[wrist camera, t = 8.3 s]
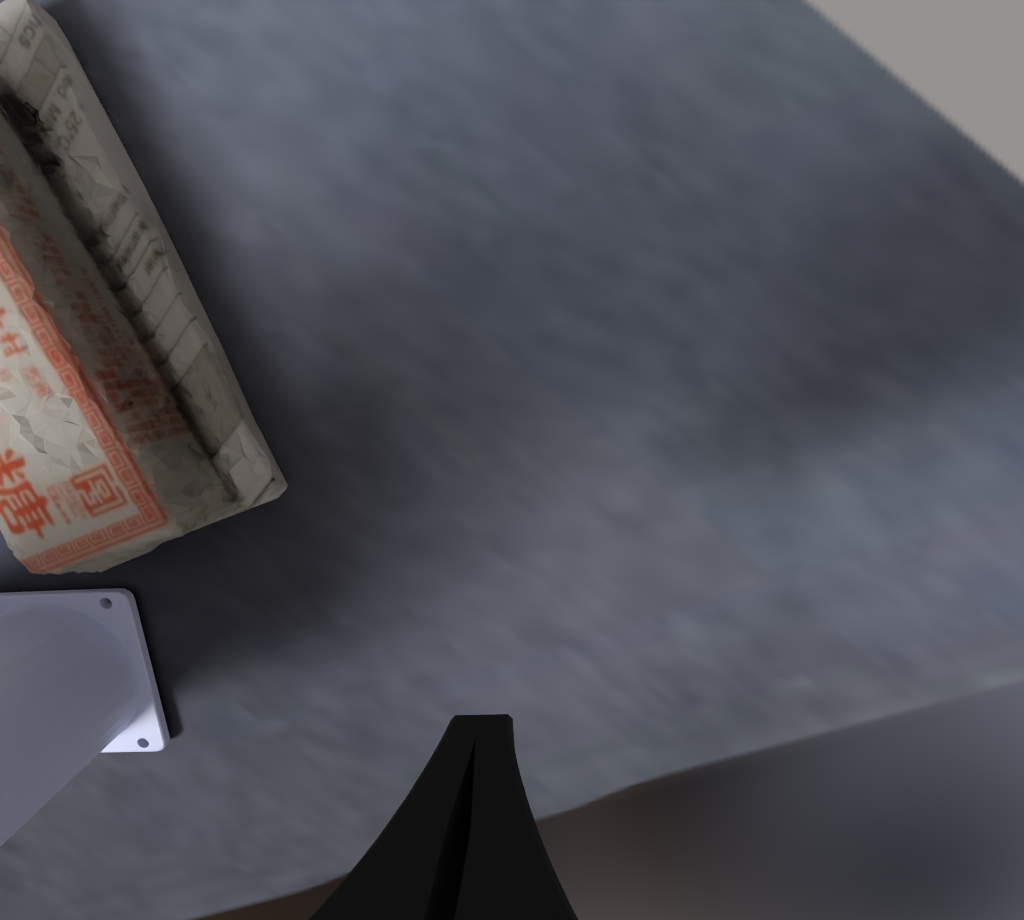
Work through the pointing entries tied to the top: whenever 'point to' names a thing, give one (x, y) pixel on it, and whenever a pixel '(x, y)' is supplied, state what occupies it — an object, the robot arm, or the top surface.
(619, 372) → the top surface
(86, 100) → the packaged product
